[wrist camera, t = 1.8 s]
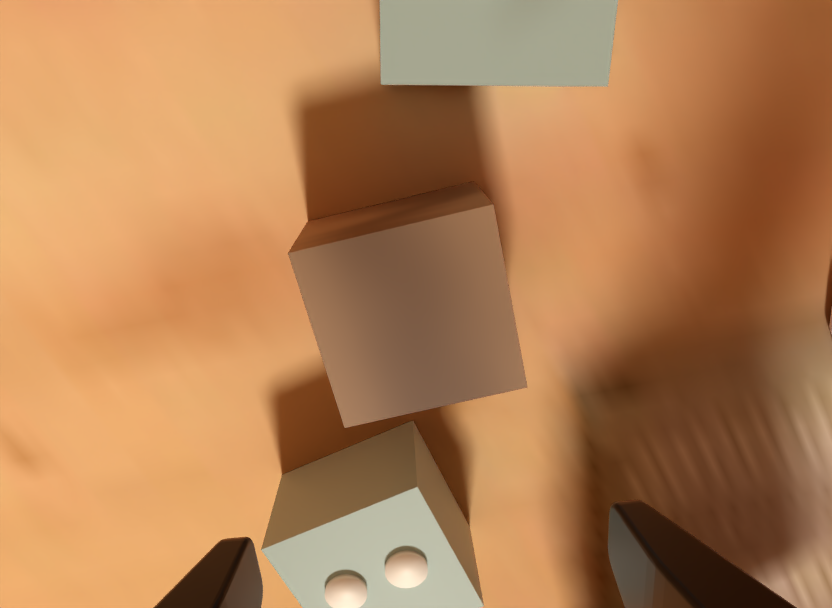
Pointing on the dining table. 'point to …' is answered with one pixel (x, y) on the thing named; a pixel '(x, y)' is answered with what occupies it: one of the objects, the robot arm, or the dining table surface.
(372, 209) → the walnut block
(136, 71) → the dining table surface
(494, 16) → the grey-green block
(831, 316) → the soap bottle
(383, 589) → the dotted block two
